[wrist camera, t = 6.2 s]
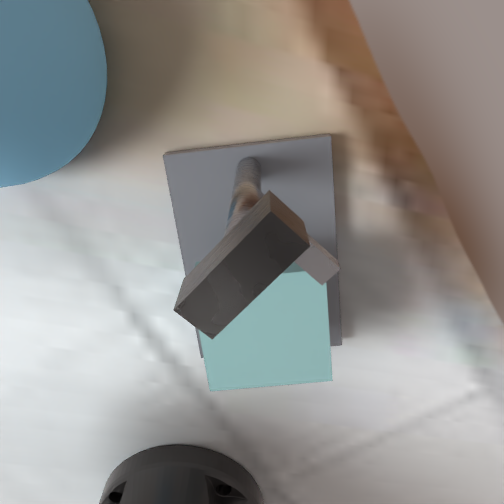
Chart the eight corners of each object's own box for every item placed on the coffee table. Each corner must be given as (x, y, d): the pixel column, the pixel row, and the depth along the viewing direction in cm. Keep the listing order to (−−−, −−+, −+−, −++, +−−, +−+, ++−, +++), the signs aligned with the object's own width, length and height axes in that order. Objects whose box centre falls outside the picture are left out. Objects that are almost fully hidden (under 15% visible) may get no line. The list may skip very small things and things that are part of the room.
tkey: (342, 204, 32) (416, 340, 17) (290, 254, 34) (316, 419, 19) (264, 131, 30) (270, 210, 15) (213, 187, 32) (173, 310, 17)
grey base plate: (339, 337, 38) (348, 369, 34) (202, 350, 38) (196, 382, 35) (328, 133, 32) (338, 144, 28) (165, 152, 32) (153, 165, 28)
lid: (326, 353, 34) (332, 380, 31) (213, 363, 34) (210, 391, 31) (319, 249, 30) (325, 269, 28) (195, 261, 31) (189, 282, 28)
